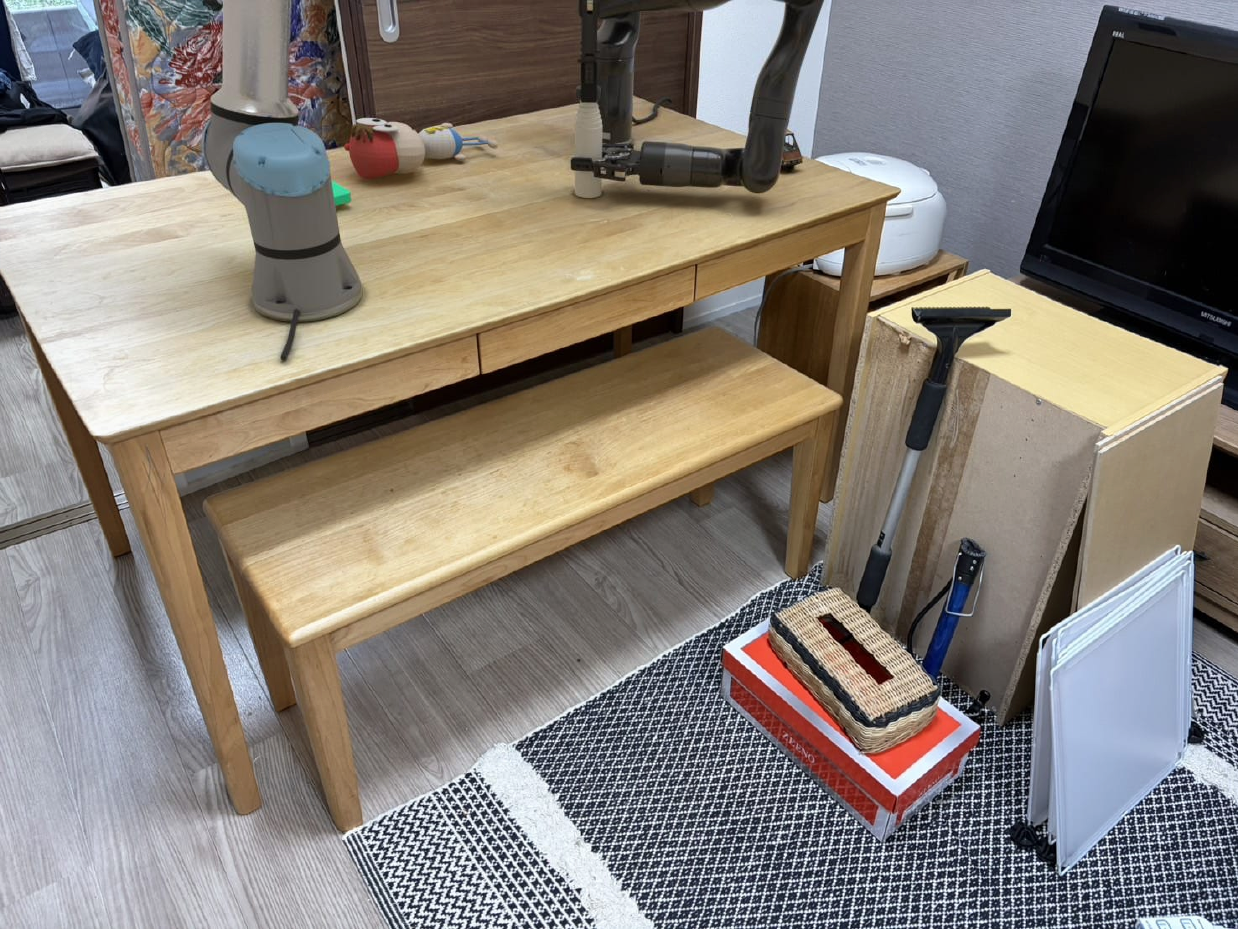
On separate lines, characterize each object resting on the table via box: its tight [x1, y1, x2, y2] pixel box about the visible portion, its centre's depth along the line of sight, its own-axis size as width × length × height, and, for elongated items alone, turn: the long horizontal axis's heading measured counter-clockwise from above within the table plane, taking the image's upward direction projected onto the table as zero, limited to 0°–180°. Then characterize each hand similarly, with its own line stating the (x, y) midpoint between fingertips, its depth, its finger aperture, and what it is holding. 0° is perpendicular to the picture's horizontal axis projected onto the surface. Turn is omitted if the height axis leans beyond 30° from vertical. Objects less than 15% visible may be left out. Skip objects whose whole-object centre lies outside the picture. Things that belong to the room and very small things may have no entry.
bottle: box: [574, 99, 603, 199], centre depth 166 cm, size 5×5×18 cm
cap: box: [575, 84, 601, 101], centre depth 160 cm, size 4×4×2 cm
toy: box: [343, 117, 499, 180], centre depth 179 cm, size 18×10×30 cm
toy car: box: [781, 128, 804, 172], centre depth 184 cm, size 6×12×7 cm, turn 39°
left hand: (588, 97), depth 161 cm, fingers closed on cap, 4 cm apart
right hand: (574, 158), depth 168 cm, fingers closed on bottle, 5 cm apart
